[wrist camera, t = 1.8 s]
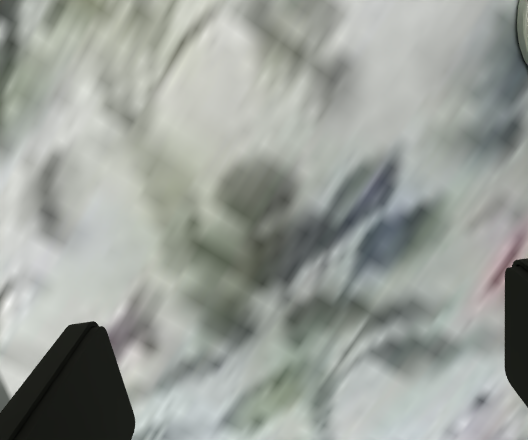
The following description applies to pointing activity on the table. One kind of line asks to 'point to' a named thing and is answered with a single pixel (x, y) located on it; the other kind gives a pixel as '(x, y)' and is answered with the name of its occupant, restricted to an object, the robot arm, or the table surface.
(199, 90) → the table surface
